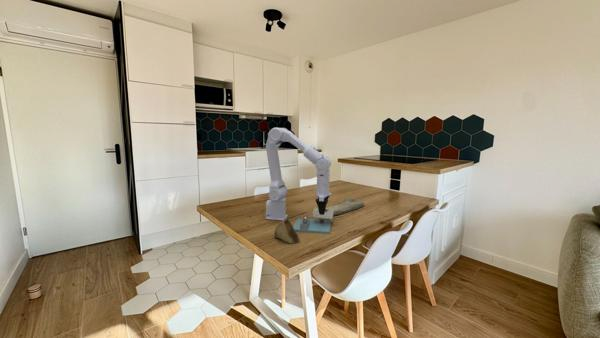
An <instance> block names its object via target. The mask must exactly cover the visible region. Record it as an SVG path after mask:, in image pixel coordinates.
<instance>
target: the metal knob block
mask: <svg viewBox="0 0 600 338" xmlns="http://www.w3.org/2000/svg"><path fill="white" fill-rule="evenodd" d="M301 219H302V222H301V224H300V229H302V230H308V227H309V224H310V219H311V218H308V216H303V217H302V218H301Z"/></svg>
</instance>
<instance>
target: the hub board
mask: <svg viewBox="0 0 600 338" xmlns="http://www.w3.org/2000/svg"><path fill="white" fill-rule="evenodd" d="M302 219H303V218H297V219H296V221H295V223H294V225H293V228H294V229H295V232H301V233H302V232H303V233H311V234H312V233H313V234H326V235H328V234H329V235H330V234H331V225H332V220H331V219H327V220H326V219H324V222H323V223H321V222H320V219H314V218H313V219H312V218H309V219H310V224H309V227H308V230H302V229H300V224H301V222H302Z"/></svg>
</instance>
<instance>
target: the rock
mask: <svg viewBox="0 0 600 338" xmlns="http://www.w3.org/2000/svg"><path fill="white" fill-rule="evenodd" d="M293 227H294V225H293V224H292V222H290V220H289V219H288V217H286V218H284V220H281V221H280V222H279V223H278V224H277V225H276V228H275V230H274V234H273V235H274V237H275V238H277V239H279V240H282V242H285V243H287V244H298V243H300V242H301V241H300V237H299V234H298V233H297V231H295V229H294V228H293Z"/></svg>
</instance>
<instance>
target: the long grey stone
mask: <svg viewBox="0 0 600 338" xmlns="http://www.w3.org/2000/svg"><path fill="white" fill-rule="evenodd" d="M364 205H365V202H364V200H361V199H355V198H351V197H350V198H347V197H344V198H343V200H342V201H340V202H339V203H338V204H334V205H331V206H326V209H334V210H333V217H334V216H338V215H342V214H345V213H346V214H347V213H349V212H351V211H355V210H358V209H361V207H364Z"/></svg>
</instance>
